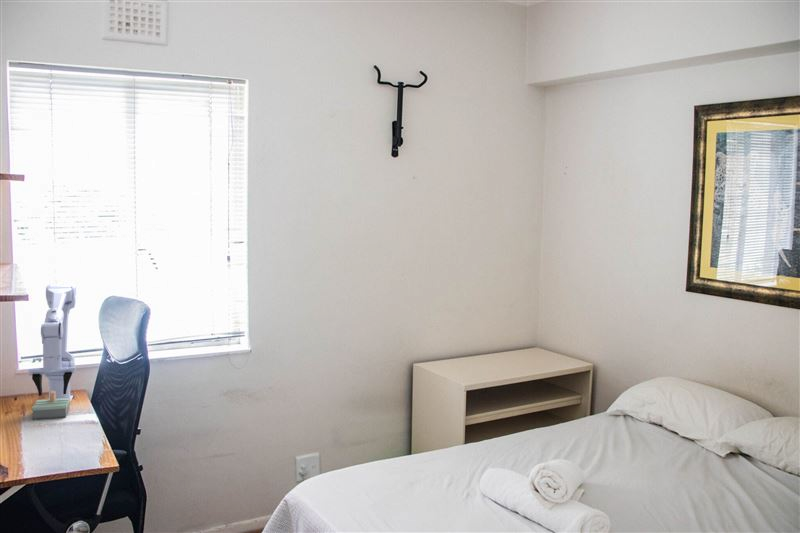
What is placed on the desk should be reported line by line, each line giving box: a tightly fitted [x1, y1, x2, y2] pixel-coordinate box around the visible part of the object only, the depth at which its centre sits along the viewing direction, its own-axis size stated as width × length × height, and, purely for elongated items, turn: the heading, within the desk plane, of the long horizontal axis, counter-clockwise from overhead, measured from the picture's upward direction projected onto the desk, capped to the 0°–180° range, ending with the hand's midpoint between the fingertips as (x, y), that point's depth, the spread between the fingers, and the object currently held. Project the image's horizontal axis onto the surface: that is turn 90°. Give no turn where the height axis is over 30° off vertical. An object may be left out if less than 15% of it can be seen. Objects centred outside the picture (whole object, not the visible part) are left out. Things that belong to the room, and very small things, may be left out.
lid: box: [31, 391, 71, 412], centre depth 229 cm, size 10×10×5 cm
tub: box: [32, 402, 71, 421], centre depth 229 cm, size 10×10×3 cm
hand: (52, 394), depth 232 cm, fingers open, 7 cm apart
